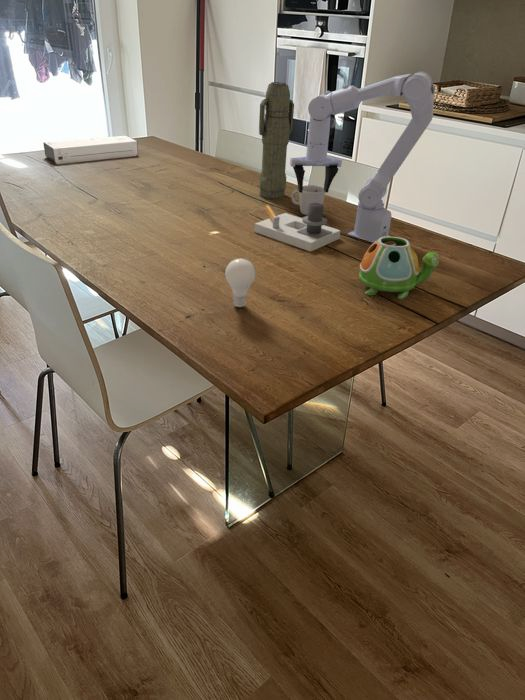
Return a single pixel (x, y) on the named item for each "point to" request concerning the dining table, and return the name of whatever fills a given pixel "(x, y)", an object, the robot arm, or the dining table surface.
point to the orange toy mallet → (273, 217)
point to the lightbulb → (240, 279)
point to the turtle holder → (394, 267)
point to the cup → (308, 197)
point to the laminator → (90, 149)
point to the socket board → (296, 232)
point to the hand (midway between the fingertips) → (313, 191)
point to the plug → (314, 218)
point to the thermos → (275, 139)
